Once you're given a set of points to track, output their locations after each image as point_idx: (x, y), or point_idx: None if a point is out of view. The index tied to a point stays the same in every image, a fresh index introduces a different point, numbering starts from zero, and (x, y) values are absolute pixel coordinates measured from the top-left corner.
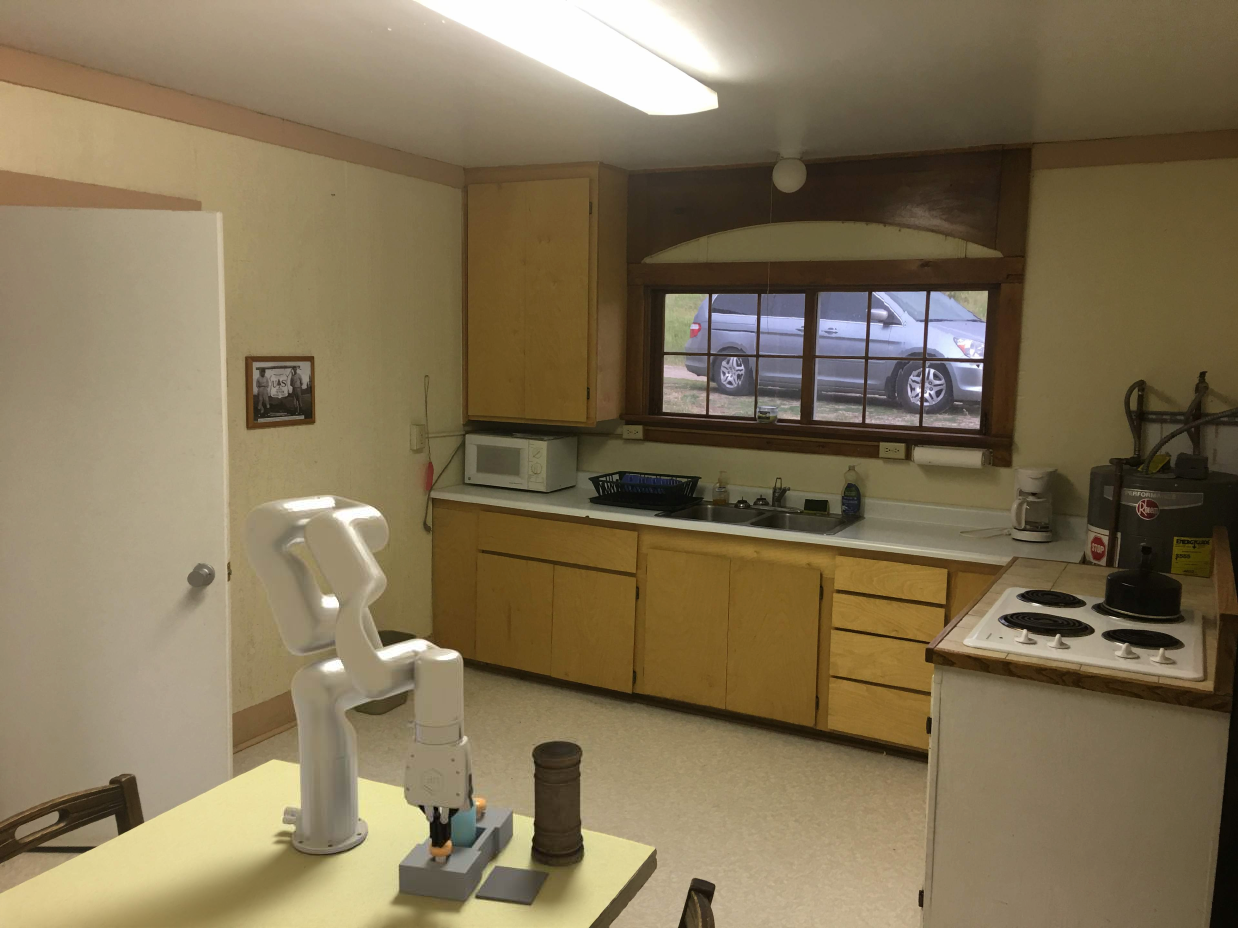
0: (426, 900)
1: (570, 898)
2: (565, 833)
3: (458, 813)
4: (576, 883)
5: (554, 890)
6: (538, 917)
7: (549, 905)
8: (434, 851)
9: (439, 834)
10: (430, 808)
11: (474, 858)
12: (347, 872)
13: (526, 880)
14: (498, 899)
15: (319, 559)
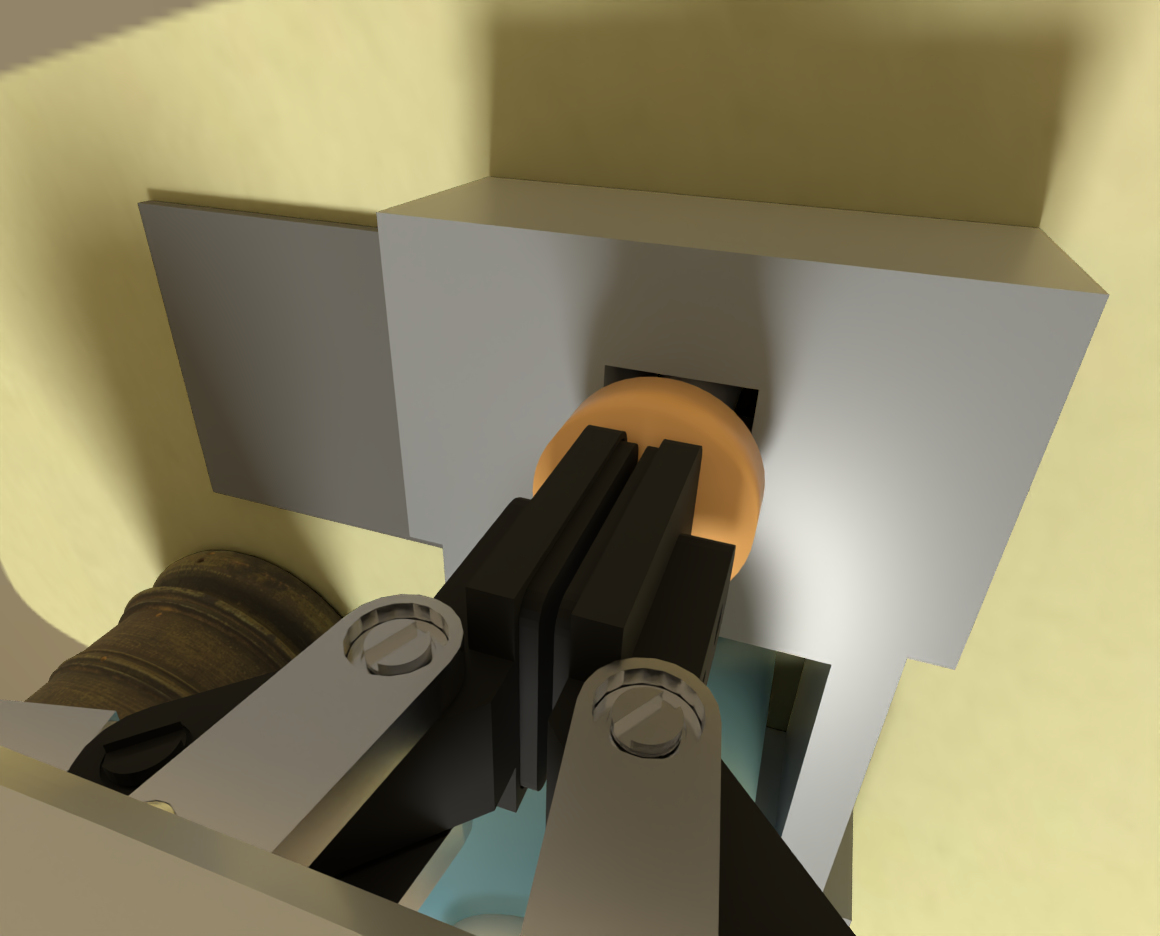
0: (766, 138)
1: (40, 287)
2: (70, 659)
3: (509, 856)
4: (89, 415)
5: (131, 350)
6: (54, 70)
7: (77, 207)
8: (675, 401)
9: (555, 502)
10: (565, 881)
11: (413, 443)
12: None
13: (262, 415)
14: (312, 220)
15: None
